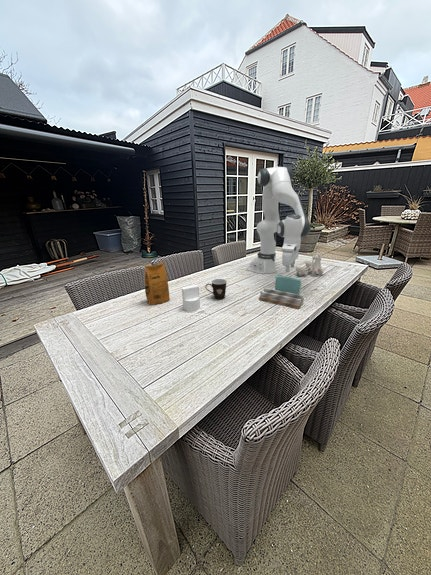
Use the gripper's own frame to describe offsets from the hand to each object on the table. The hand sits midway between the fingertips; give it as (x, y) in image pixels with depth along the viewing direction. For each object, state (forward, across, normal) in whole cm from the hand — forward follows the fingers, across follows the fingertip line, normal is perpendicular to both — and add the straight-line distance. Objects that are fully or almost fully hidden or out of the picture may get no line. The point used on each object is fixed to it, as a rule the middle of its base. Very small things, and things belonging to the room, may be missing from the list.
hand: (289, 269), depth 130 cm
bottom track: (+15, +12, -1) cm, 19 cm away
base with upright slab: (+14, +43, -40) cm, 60 cm away
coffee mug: (+15, +25, -35) cm, 45 cm away
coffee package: (+14, +46, -62) cm, 78 cm away
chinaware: (+16, -44, +4) cm, 47 cm away
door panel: (+15, 0, -1) cm, 15 cm away
